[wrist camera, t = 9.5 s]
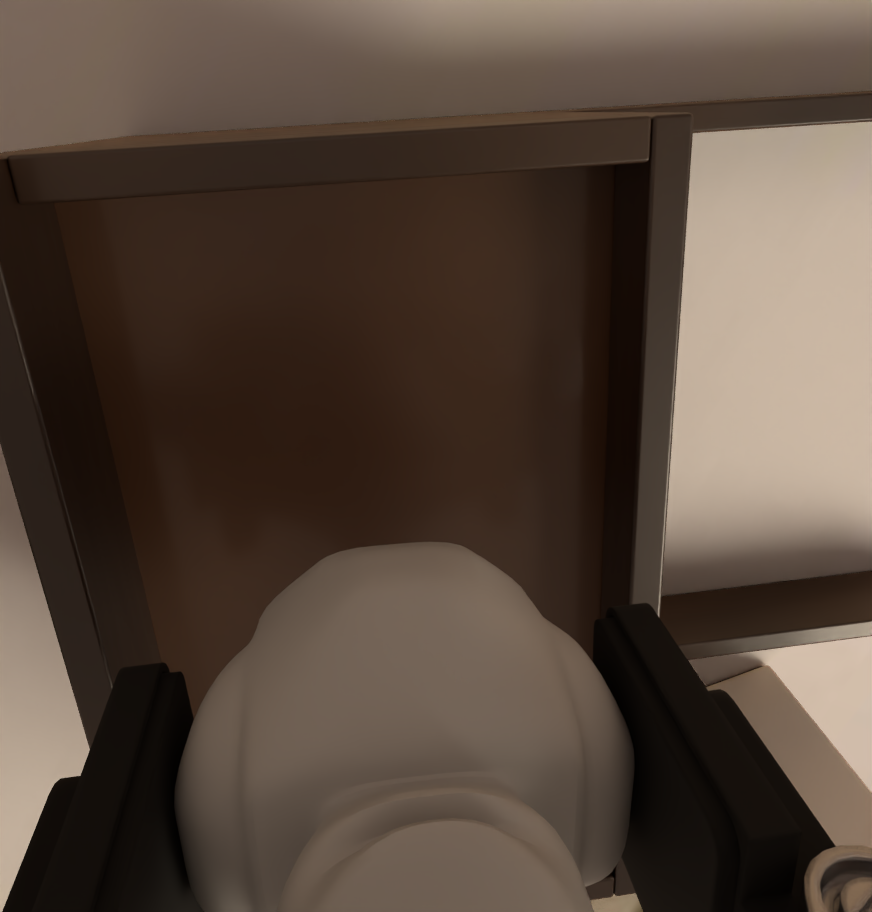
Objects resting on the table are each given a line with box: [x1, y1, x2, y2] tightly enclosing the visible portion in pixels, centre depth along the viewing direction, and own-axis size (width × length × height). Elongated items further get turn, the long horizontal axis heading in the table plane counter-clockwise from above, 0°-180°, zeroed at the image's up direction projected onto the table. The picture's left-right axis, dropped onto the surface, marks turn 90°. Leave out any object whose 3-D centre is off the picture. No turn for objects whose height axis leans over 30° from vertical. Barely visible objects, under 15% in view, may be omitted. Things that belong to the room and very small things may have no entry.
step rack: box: [0, 91, 872, 900], centre depth 18 cm, size 22×15×10 cm, turn 93°
